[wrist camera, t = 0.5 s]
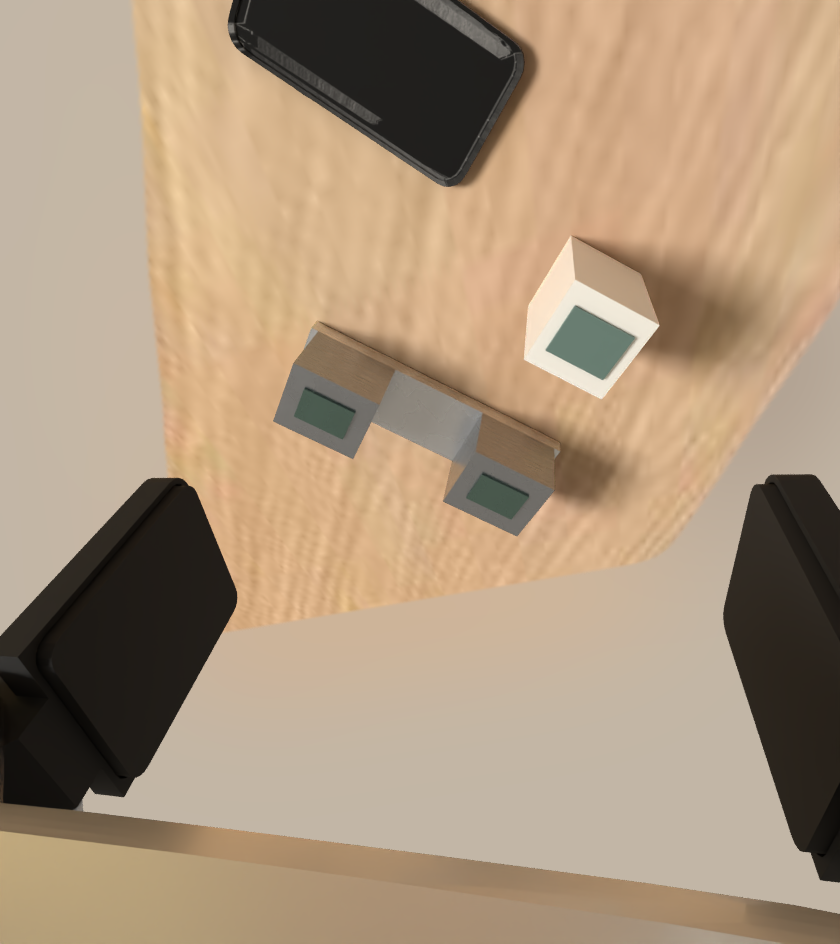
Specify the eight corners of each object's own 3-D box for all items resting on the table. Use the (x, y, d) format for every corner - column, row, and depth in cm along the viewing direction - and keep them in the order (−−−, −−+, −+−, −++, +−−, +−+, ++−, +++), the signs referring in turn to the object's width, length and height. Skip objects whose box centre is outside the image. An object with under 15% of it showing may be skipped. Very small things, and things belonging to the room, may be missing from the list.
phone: (270, -138, 28) (532, 55, 30) (278, -133, 29) (533, 54, 31) (221, 42, 32) (453, 196, 35) (230, 41, 33) (455, 192, 36)
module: (571, 235, 36) (575, 281, 29) (641, 273, 37) (660, 326, 30) (528, 305, 39) (523, 361, 32) (593, 340, 40) (601, 401, 33)
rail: (316, 321, 42) (285, 361, 37) (560, 442, 45) (561, 495, 40) (296, 376, 45) (265, 419, 40) (525, 486, 48) (522, 541, 43)
